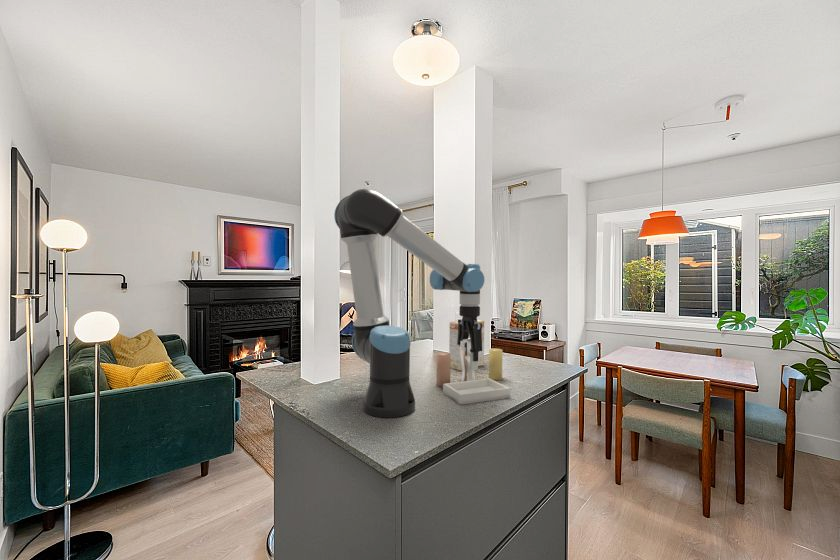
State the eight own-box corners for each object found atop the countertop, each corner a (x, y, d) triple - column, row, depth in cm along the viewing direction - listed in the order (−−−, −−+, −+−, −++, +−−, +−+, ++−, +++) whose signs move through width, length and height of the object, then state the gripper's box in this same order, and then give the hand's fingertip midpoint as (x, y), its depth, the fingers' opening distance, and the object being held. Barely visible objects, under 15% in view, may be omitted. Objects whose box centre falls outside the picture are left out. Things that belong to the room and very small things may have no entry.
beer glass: (472, 384, 133) (473, 343, 132) (455, 381, 137) (456, 340, 137) (481, 380, 138) (482, 340, 138) (465, 376, 143) (466, 338, 142)
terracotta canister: (440, 387, 129) (440, 356, 129) (434, 383, 134) (434, 353, 134) (452, 385, 131) (453, 354, 131) (446, 382, 136) (446, 352, 136)
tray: (460, 404, 113) (460, 394, 113) (443, 392, 124) (443, 383, 124) (509, 397, 119) (510, 388, 119) (489, 386, 131) (489, 378, 131)
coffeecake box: (472, 362, 167) (472, 318, 166) (484, 365, 161) (485, 320, 161) (448, 367, 157) (448, 321, 157) (460, 370, 152) (461, 323, 151)
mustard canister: (493, 381, 138) (493, 351, 138) (486, 377, 142) (486, 348, 142) (504, 379, 140) (505, 350, 139) (497, 376, 144) (497, 347, 144)
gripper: (493, 307, 130) (492, 373, 130) (465, 303, 148) (464, 360, 148) (474, 308, 127) (473, 375, 127) (448, 303, 145) (447, 362, 145)
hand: (469, 367), depth 138 cm, fingers closed on beer glass, 7 cm apart
